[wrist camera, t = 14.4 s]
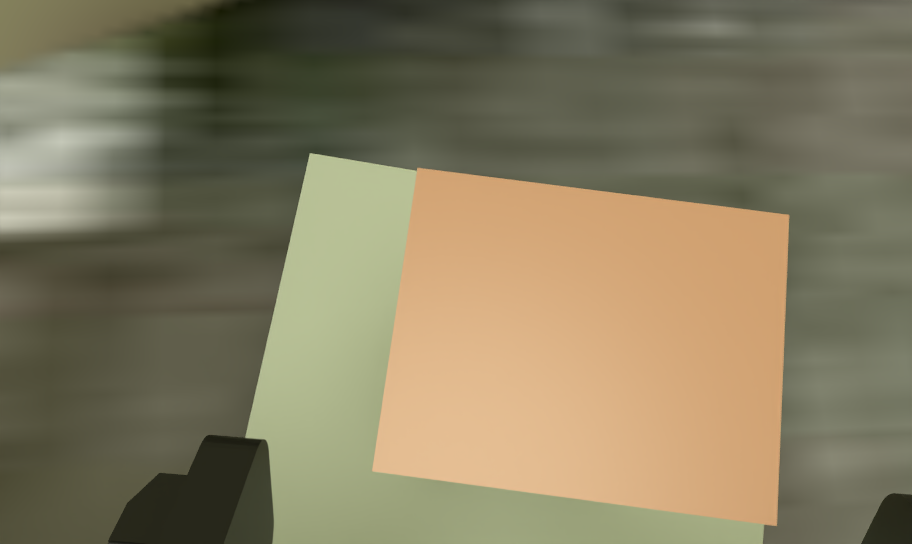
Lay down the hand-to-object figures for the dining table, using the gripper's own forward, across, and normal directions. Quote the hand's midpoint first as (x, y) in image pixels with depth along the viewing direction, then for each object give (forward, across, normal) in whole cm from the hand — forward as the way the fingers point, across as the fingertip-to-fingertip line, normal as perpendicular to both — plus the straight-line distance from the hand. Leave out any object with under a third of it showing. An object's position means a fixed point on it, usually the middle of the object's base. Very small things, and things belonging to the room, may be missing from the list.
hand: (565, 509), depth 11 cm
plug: (+10, 0, +6) cm, 11 cm away
